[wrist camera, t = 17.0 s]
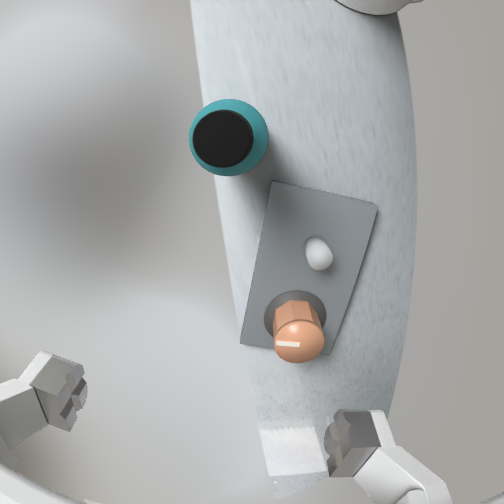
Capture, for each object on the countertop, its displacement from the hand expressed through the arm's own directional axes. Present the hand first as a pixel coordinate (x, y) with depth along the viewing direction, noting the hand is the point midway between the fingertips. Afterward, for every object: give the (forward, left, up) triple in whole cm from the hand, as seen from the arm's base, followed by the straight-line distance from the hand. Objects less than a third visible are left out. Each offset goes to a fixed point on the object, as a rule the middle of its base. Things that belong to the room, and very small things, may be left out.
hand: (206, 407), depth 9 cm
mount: (+10, +10, -34) cm, 37 cm away
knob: (+16, +10, -32) cm, 37 cm away
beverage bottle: (-7, -2, -34) cm, 35 cm away
